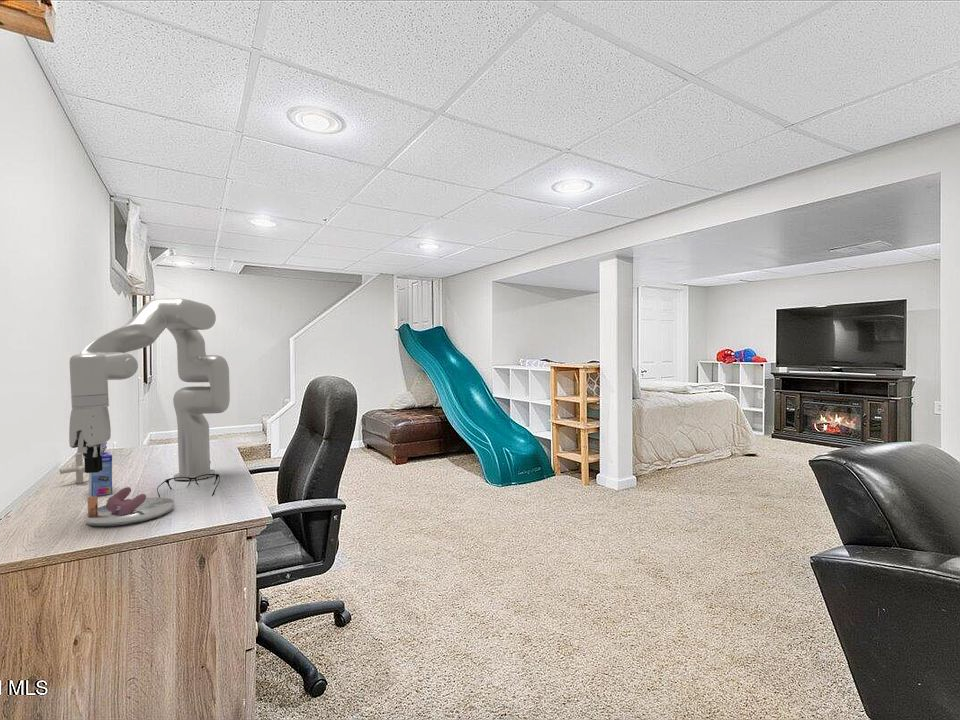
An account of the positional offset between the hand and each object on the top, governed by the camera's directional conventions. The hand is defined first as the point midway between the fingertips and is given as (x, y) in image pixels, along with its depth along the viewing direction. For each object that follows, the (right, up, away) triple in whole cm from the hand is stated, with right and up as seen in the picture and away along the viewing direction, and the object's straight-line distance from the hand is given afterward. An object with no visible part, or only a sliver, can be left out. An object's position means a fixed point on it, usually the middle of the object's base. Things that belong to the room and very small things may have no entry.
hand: (93, 471), depth 127 cm
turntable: (+7, -13, +4) cm, 15 cm away
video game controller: (+8, -9, +4) cm, 13 cm away
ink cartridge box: (-18, -13, +26) cm, 34 cm away
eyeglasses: (+11, -13, +25) cm, 30 cm away
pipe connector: (-35, -13, +38) cm, 53 cm away
